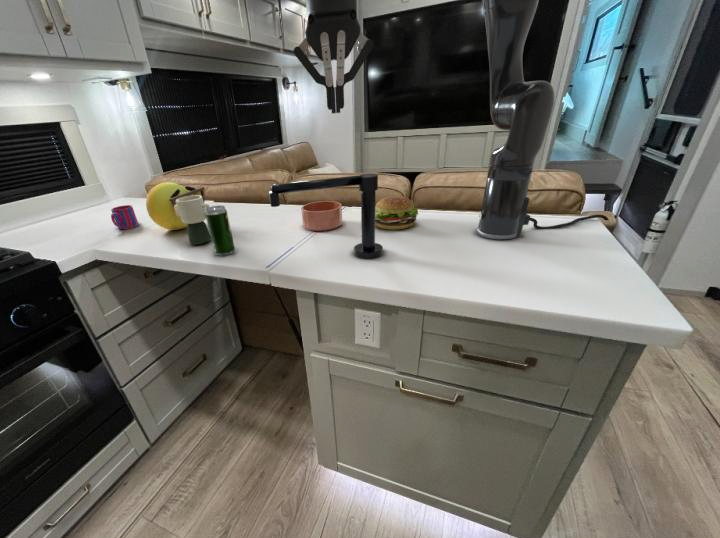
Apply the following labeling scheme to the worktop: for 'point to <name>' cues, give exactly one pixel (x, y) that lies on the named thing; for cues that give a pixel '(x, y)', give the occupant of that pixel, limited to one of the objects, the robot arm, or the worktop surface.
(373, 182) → the spout
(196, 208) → the character mug
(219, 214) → the beer can
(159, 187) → the emoji
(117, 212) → the cup
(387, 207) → the food
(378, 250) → the faucet base
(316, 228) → the basin
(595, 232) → the worktop surface
